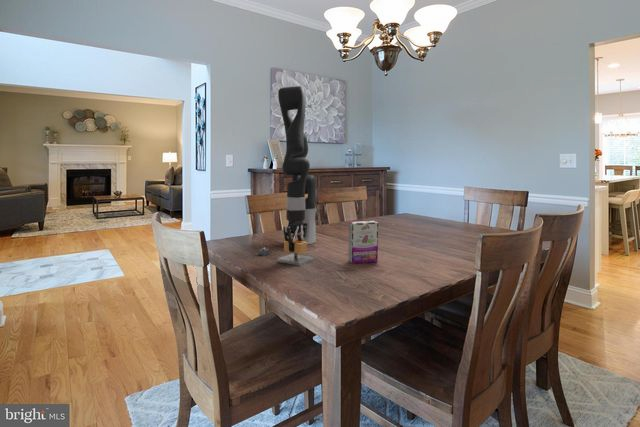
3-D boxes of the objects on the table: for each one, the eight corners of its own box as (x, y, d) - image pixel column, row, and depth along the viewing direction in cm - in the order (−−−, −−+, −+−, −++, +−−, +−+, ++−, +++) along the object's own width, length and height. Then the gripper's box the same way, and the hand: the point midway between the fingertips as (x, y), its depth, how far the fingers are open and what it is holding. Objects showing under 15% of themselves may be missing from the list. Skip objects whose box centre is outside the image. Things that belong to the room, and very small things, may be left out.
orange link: (291, 248, 154) (291, 239, 153) (307, 251, 150) (307, 241, 149) (283, 251, 150) (283, 241, 149) (300, 254, 146) (300, 244, 145)
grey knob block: (264, 252, 163) (264, 246, 162) (269, 253, 161) (269, 247, 161) (258, 254, 159) (258, 248, 159) (263, 255, 158) (263, 249, 157)
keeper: (292, 256, 157) (292, 241, 157) (314, 260, 152) (314, 245, 151) (277, 261, 149) (277, 246, 148) (300, 265, 143) (300, 250, 142)
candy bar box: (372, 259, 155) (374, 220, 152) (377, 262, 150) (379, 222, 147) (347, 260, 152) (348, 221, 149) (351, 264, 147) (352, 223, 144)
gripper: (298, 205, 155) (298, 245, 158) (277, 209, 143) (277, 252, 145) (313, 207, 151) (313, 248, 154) (293, 210, 139) (293, 255, 142)
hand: (295, 249), depth 150 cm, fingers closed on orange link, 5 cm apart
